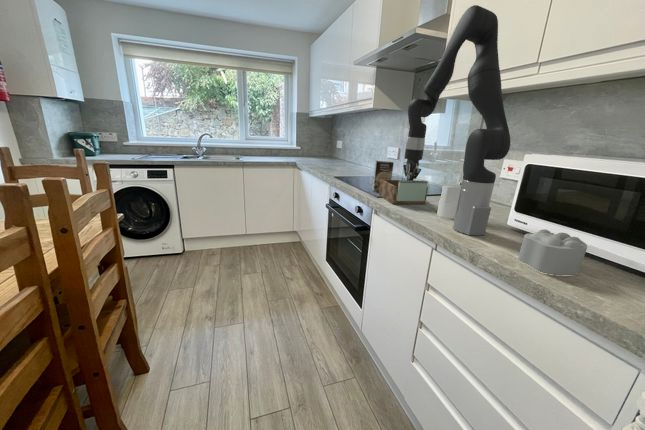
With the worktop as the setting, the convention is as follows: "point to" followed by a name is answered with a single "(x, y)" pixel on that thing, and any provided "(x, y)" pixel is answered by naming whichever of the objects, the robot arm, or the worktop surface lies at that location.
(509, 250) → the worktop surface
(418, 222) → the worktop surface
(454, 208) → the cylinder with rectangular tab
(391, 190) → the box
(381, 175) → the coffee box
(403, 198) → the panel
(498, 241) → the worktop surface
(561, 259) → the lumpy-topped squat cylinder
